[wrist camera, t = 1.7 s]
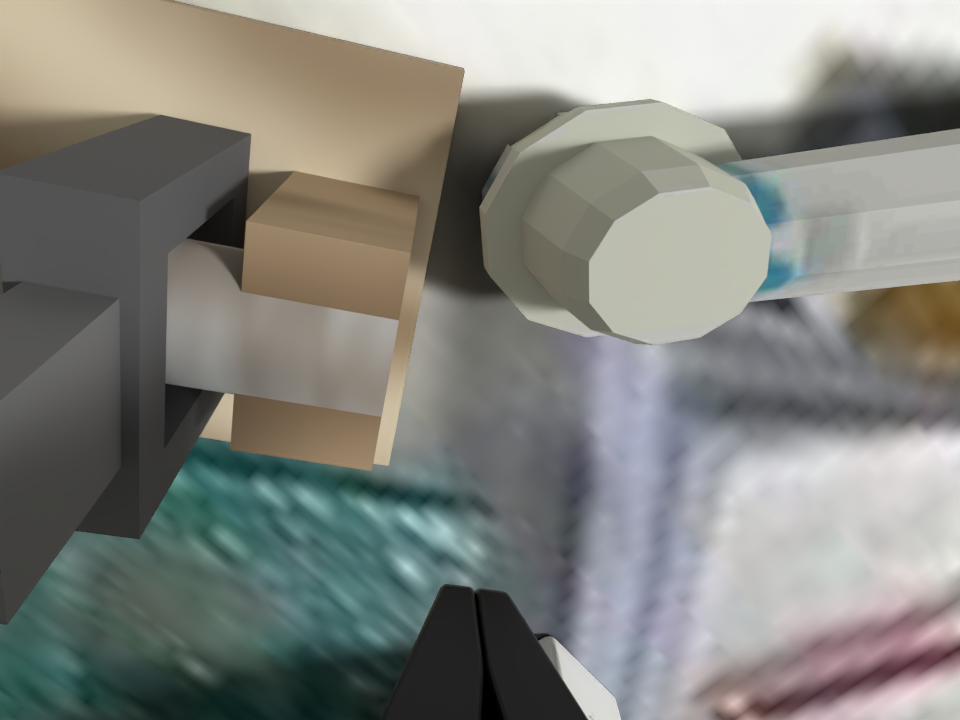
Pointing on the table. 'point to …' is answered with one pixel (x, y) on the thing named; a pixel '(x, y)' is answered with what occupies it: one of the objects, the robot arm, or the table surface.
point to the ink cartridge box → (581, 683)
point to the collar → (100, 331)
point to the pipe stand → (263, 202)
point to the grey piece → (706, 221)
